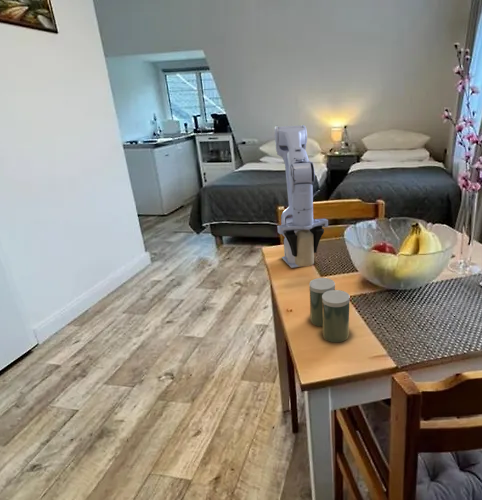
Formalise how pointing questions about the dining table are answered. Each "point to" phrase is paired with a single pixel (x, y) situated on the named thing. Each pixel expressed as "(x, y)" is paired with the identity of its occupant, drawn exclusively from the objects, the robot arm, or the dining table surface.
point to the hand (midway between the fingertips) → (304, 253)
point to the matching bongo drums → (329, 309)
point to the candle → (304, 248)
